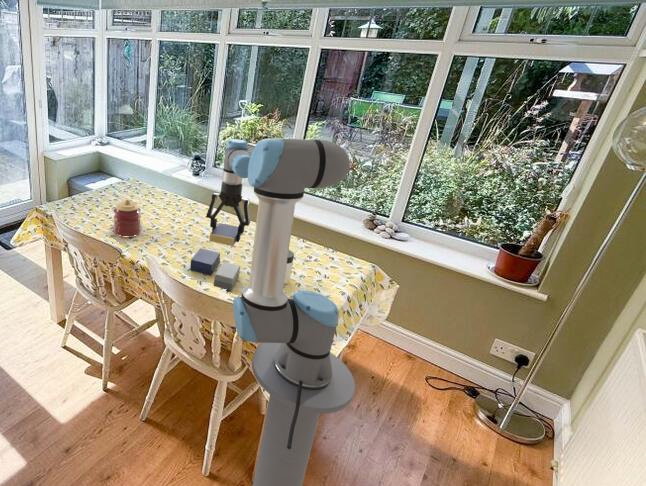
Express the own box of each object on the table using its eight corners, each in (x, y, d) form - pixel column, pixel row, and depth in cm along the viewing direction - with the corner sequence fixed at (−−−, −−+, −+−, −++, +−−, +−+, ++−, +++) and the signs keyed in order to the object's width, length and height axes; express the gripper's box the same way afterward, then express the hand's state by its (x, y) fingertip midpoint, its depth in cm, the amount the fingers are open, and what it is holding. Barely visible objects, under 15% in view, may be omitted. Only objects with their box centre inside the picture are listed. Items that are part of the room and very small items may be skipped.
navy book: (233, 246, 150) (233, 238, 149) (209, 241, 154) (210, 233, 153) (241, 234, 161) (241, 227, 160) (218, 229, 165) (219, 223, 164)
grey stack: (231, 290, 155) (232, 279, 153) (213, 286, 158) (214, 274, 156) (239, 276, 165) (240, 265, 163) (222, 272, 168) (223, 261, 166)
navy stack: (211, 275, 165) (212, 264, 163) (190, 270, 168) (191, 259, 167) (219, 263, 175) (220, 252, 173) (199, 258, 179) (200, 247, 177)
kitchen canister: (110, 229, 204) (109, 196, 197) (134, 225, 208) (134, 192, 202) (119, 240, 193) (119, 206, 186) (144, 236, 197) (145, 202, 191)
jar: (263, 278, 164) (267, 251, 160) (273, 270, 170) (278, 245, 165) (283, 287, 158) (288, 260, 154) (294, 279, 164) (299, 253, 159)
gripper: (264, 184, 149) (256, 240, 157) (207, 174, 158) (201, 228, 166) (260, 190, 142) (251, 248, 150) (200, 179, 151) (195, 235, 159)
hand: (225, 237), depth 158 cm, fingers closed on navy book, 9 cm apart
